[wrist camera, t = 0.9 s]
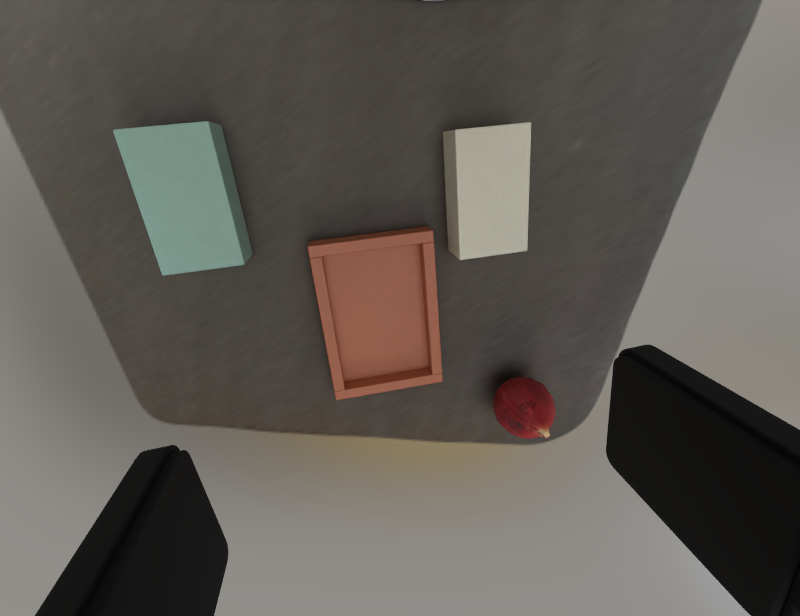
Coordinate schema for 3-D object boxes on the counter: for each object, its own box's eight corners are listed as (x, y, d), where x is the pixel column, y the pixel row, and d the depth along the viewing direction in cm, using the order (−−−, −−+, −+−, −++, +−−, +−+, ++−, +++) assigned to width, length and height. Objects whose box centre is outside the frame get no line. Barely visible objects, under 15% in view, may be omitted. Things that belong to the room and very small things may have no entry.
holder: (308, 241, 33) (307, 246, 32) (427, 225, 35) (433, 230, 33) (335, 388, 39) (336, 400, 37) (437, 370, 40) (442, 381, 38)
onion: (478, 408, 43) (508, 461, 36) (488, 362, 41) (522, 408, 34) (526, 408, 44) (565, 459, 37) (538, 363, 42) (582, 408, 35)
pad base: (136, 132, 29) (111, 129, 25) (221, 124, 29) (207, 120, 26) (178, 263, 32) (162, 275, 29) (252, 254, 33) (244, 265, 30)
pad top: (442, 131, 32) (455, 129, 29) (511, 125, 33) (531, 121, 30) (448, 250, 36) (459, 260, 33) (510, 242, 37) (527, 250, 33)
